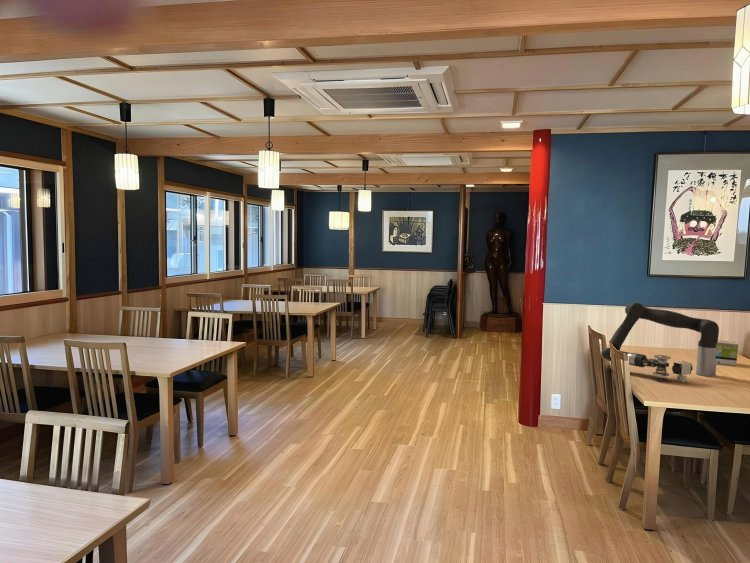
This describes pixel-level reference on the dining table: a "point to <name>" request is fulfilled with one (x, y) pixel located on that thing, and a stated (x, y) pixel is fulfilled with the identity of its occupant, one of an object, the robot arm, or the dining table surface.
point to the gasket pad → (660, 379)
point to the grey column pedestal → (662, 360)
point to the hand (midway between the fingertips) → (666, 365)
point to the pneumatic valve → (682, 370)
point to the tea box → (726, 352)
